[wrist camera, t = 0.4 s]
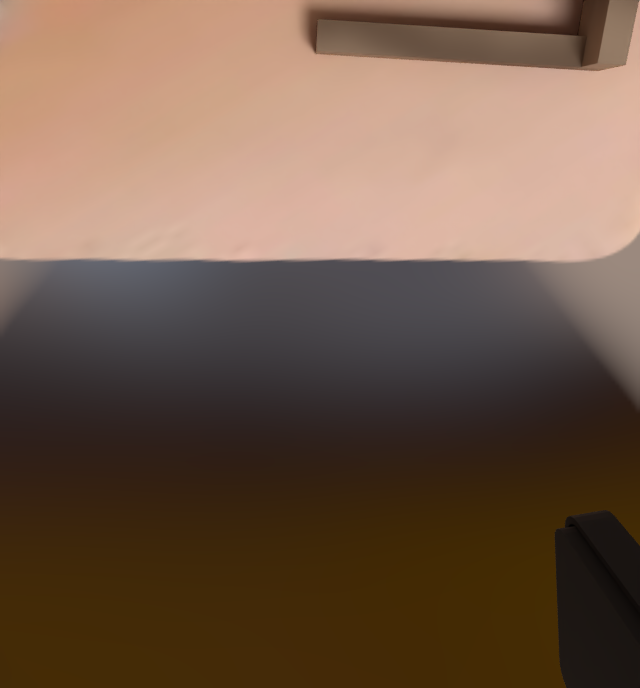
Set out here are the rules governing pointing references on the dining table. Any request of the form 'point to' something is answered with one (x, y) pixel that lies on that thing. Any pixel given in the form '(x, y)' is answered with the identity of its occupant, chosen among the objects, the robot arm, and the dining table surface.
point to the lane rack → (492, 41)
